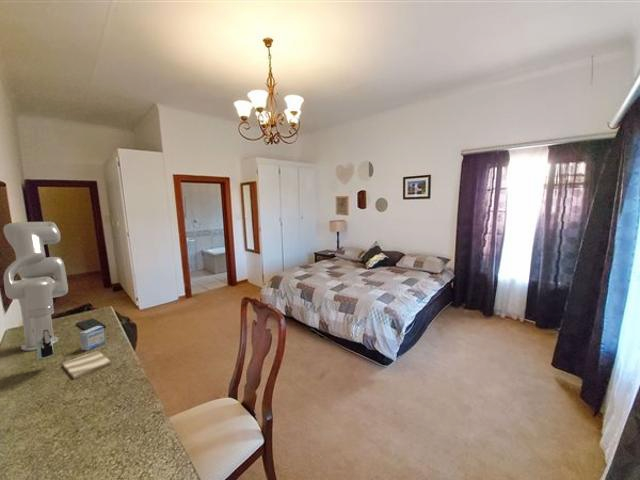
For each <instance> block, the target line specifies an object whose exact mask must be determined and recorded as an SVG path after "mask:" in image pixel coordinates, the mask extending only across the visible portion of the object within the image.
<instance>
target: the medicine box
mask: <svg viewBox="0 0 640 480" xmlns="http://www.w3.org/2000/svg"><path fill="white" fill-rule="evenodd" d="M104 329H105V328H104ZM104 329H103V326H95V327H93V328H90V329H88V330H85V331H84V330H82V331H81V332H79V340H80V341H79V342H80V349H81V351H91V350H93V349H95V348H97V347H100V346H101V345H104V344H105V341H106V340H105V331H104Z"/></svg>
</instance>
